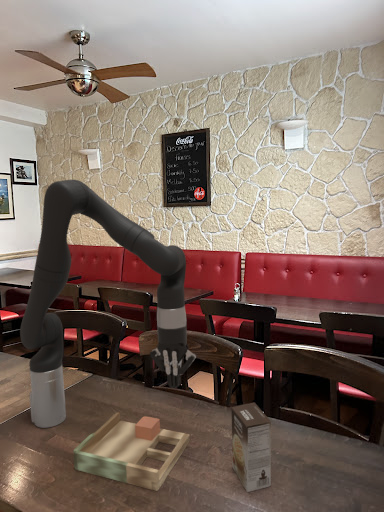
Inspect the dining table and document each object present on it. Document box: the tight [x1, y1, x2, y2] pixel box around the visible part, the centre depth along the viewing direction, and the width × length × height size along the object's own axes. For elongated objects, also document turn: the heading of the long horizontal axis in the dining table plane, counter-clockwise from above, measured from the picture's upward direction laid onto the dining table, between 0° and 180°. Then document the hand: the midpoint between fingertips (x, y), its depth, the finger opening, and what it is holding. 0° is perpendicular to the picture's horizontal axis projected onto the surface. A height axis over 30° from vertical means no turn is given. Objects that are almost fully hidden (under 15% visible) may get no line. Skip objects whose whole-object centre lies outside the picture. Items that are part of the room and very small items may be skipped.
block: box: [135, 415, 161, 441], centre depth 106 cm, size 5×5×4 cm
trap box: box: [73, 411, 191, 492], centre depth 101 cm, size 23×20×5 cm
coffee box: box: [231, 402, 272, 493], centre depth 90 cm, size 9×6×16 cm
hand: (174, 386), depth 102 cm, fingers closed
